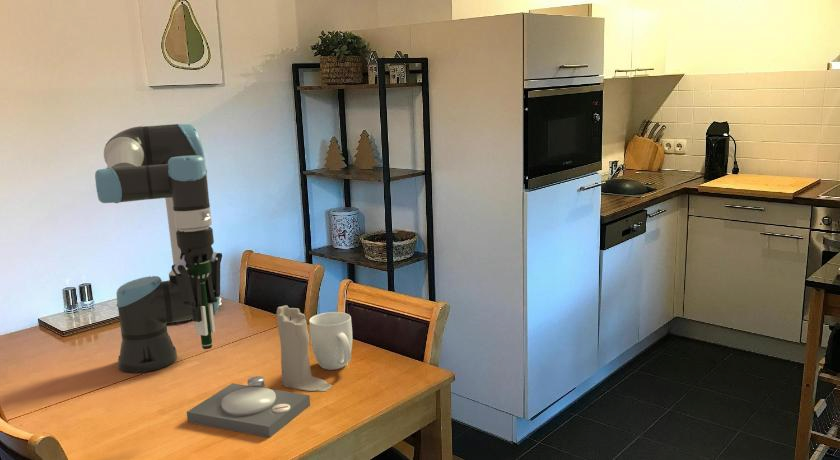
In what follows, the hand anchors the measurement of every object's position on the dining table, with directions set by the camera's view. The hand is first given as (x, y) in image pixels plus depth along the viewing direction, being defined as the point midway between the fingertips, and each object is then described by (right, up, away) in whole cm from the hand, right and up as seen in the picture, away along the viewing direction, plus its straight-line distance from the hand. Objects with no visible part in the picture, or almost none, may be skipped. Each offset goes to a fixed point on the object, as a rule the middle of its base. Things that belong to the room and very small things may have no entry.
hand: (205, 332), depth 151 cm
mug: (+25, -14, +30) cm, 41 cm away
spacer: (+7, -17, +18) cm, 26 cm away
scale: (+9, -19, +5) cm, 21 cm away
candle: (+19, -16, +19) cm, 32 cm away
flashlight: (0, -4, +1) cm, 4 cm away
